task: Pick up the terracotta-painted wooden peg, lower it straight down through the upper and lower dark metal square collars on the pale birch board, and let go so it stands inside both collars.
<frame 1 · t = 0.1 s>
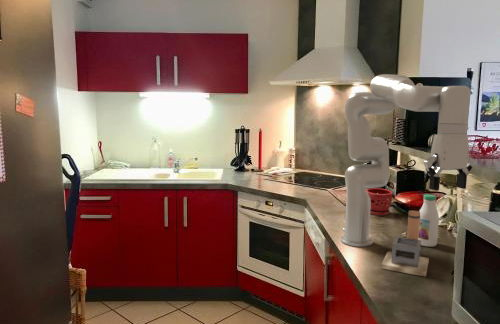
hand: (447, 188, 117), 31 cm above the worktop, tool pointing down, fingers open, 9 cm apart
milk bottle: (426, 244, 162), on the worktop
collar stand: (405, 265, 140), on the worktop
plant pot: (377, 213, 207), on the worktop
peg: (411, 253, 151), on the worktop
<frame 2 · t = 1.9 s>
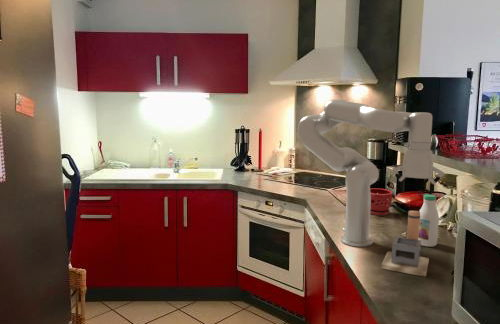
hand: (416, 192, 148), 23 cm above the worktop, tool pointing down, fingers open, 9 cm apart
nothing on the worktop moved.
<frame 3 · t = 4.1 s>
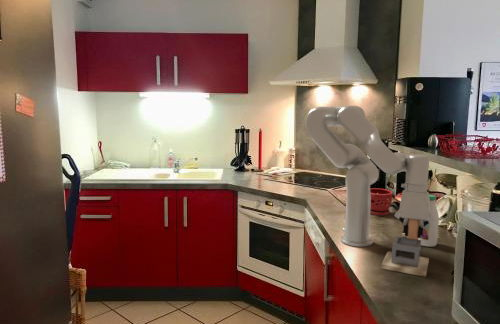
hand: (412, 235, 150), 7 cm above the worktop, tool pointing down, fingers closed on peg, 4 cm apart
peg: (411, 253, 151), on the worktop, touching gripper
everything else where it was.
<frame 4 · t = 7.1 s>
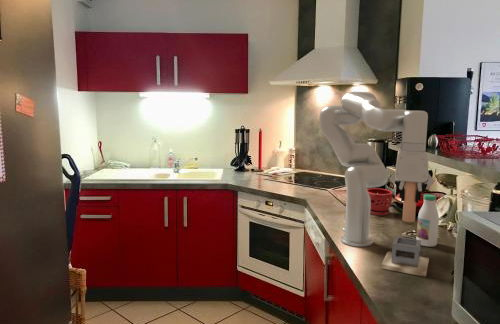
hand: (409, 200, 137), 23 cm above the worktop, tool pointing down, fingers closed on peg, 4 cm apart
peg: (408, 220, 138), point 16 cm above the worktop, touching gripper
everything else where it was.
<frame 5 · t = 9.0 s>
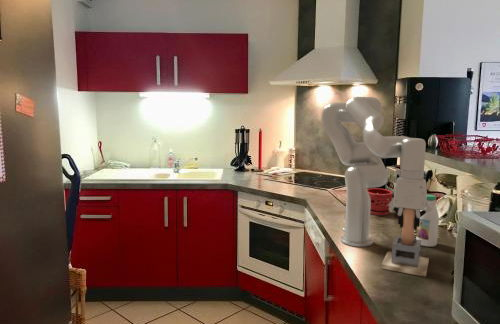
hand: (408, 226, 138), 14 cm above the worktop, tool pointing down, fingers closed on peg, 4 cm apart
peg: (407, 246, 139), point 7 cm above the worktop, touching gripper
everything else where it was.
when the fingers open (10 cm above the worktop, at t = 10.4 s): peg drops 1 cm, resting on collar stand.
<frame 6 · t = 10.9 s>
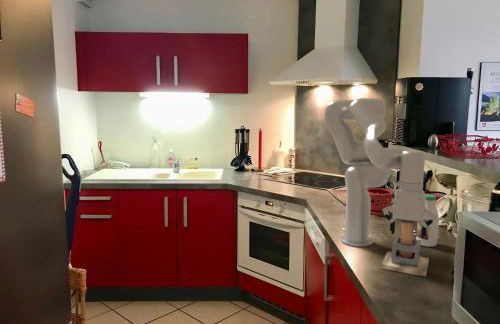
hand: (407, 235, 138), 11 cm above the worktop, tool pointing down, fingers open, 9 cm apart
peg: (405, 260, 140), point 2 cm above the worktop, touching collar stand
everything else where it was.
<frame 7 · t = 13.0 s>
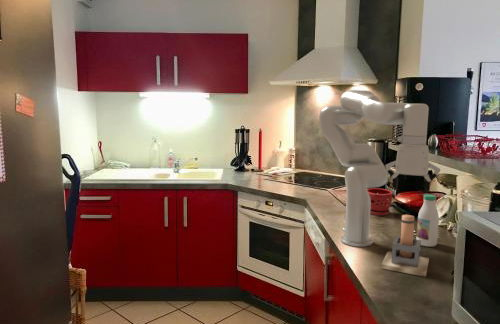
hand: (410, 191, 136), 26 cm above the worktop, tool pointing down, fingers open, 9 cm apart
nothing on the worktop moved.
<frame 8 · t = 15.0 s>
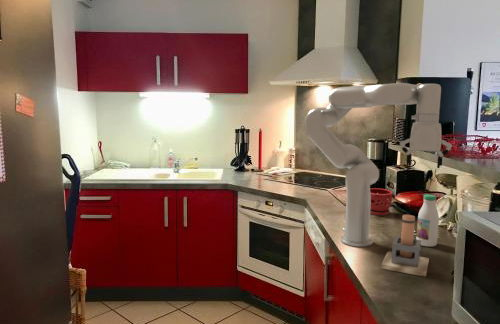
hand: (423, 166, 145), 33 cm above the worktop, tool pointing down, fingers open, 9 cm apart
nothing on the worktop moved.
at the end: peg 0.0 cm off-centre on the collar stand, point 1.5 cm above the collar stand's base; peg tilted 1°; the gripper is holding nothing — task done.
